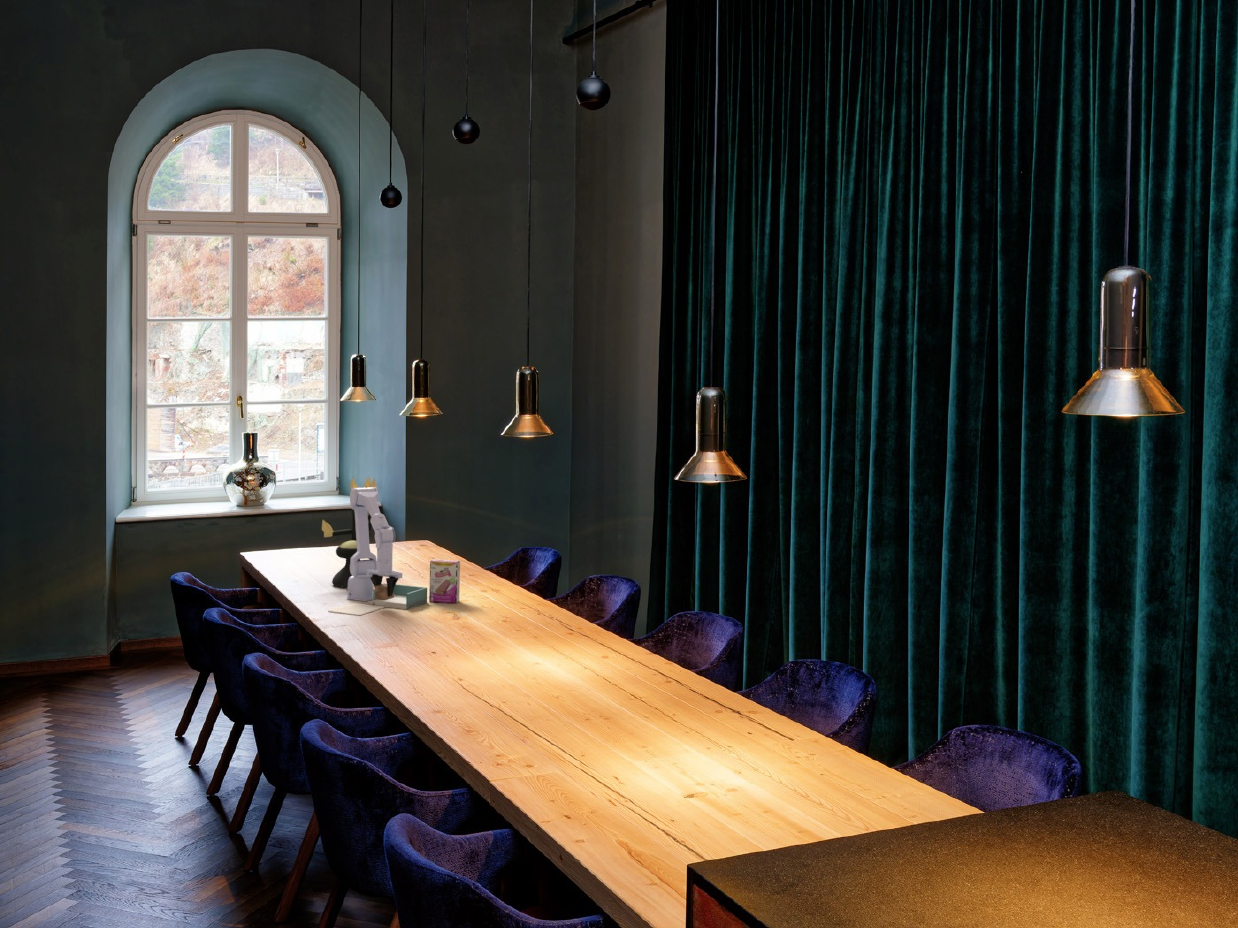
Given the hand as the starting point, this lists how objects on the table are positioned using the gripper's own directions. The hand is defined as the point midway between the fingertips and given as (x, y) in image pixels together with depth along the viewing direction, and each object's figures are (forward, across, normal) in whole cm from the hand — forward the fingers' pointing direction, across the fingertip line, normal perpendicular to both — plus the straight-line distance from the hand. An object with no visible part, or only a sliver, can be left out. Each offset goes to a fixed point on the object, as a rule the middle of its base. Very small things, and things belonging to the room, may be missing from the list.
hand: (384, 595), depth 451 cm
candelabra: (+6, -38, +35) cm, 52 cm away
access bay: (+5, 0, +11) cm, 13 cm away
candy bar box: (+6, +12, +23) cm, 27 cm away
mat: (+5, -8, -6) cm, 12 cm away
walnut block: (+1, 0, 0) cm, 1 cm away
